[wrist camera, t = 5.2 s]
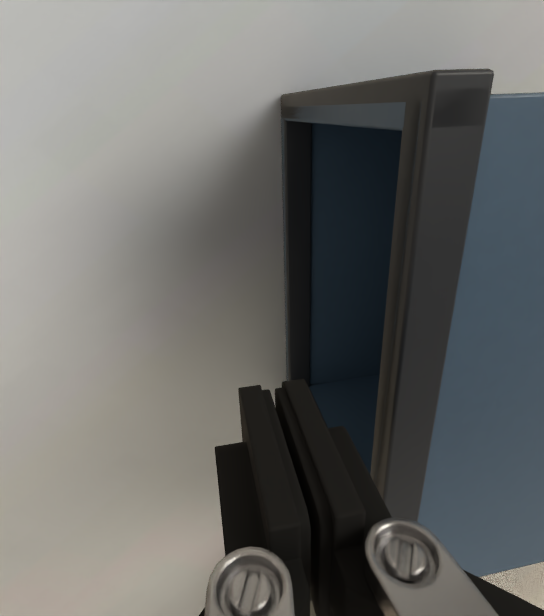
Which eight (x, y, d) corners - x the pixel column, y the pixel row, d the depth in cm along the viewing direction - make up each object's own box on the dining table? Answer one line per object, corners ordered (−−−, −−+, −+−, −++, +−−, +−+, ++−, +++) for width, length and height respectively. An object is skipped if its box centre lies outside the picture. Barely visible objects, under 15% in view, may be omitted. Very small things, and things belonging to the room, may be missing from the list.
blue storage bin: (471, 88, 19) (841, 59, 9) (427, 374, 26) (603, 561, 15) (280, 94, 18) (433, 69, 7) (286, 395, 25) (370, 618, 14)
